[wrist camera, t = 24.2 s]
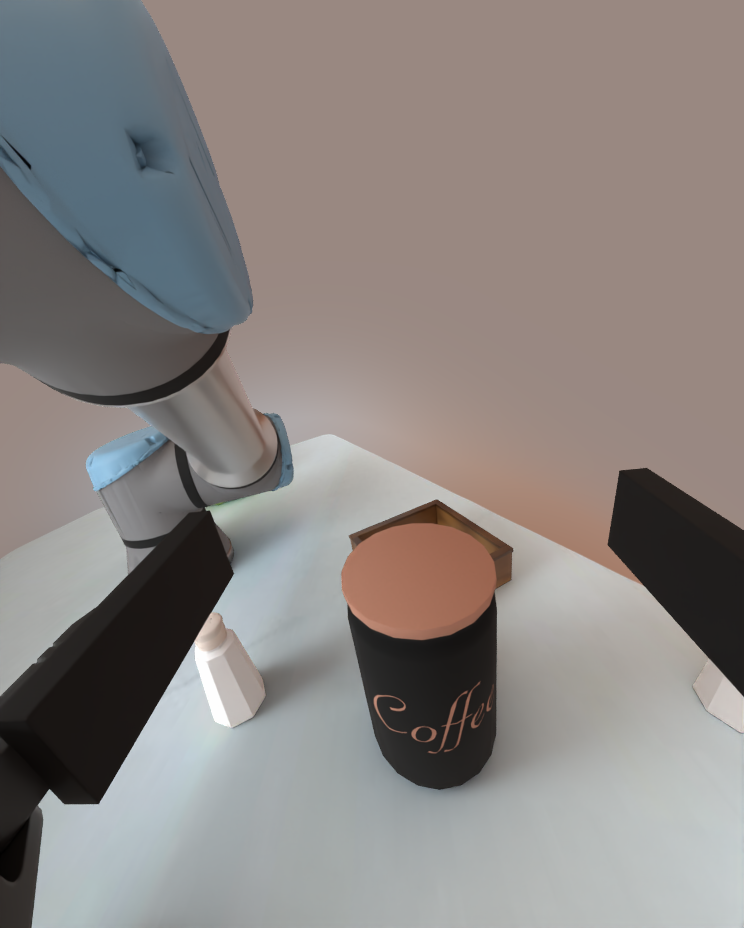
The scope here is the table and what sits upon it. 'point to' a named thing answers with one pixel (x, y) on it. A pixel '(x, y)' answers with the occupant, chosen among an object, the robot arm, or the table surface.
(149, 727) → the table surface
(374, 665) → the coffee jar
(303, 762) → the table surface
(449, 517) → the wooden tray
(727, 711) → the salt shaker
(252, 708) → the pepper shaker
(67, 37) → the robot arm
